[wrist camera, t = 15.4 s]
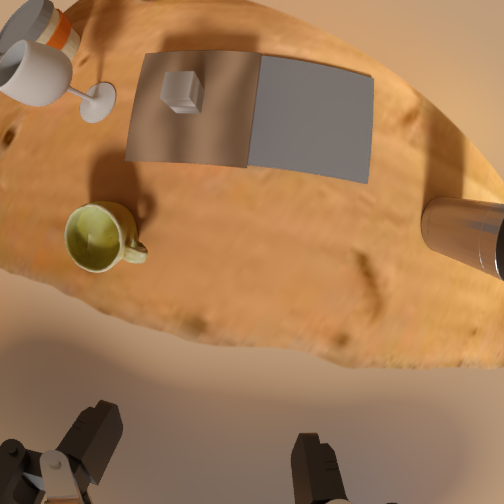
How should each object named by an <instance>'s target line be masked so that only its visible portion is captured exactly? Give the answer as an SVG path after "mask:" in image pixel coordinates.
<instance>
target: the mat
mask: <svg viewBox="0 0 504 504" xmlns="http://www.w3.org/2000/svg"><path fill="white" fill-rule="evenodd" d="M373 100H374V78H371V77H367V76H364V75H361V74H357V73H353V72H350V71H346V70H342V69H338V68H334V67H329V66H325V65H320V64H315V63H310V62H305V61H299V60H293V59H286V58H279V57H271V56H262V58H261V66H260V73H259V80H258V88H257V95H256V102H255V110H254V118H253V125H252V133H251V141H250V149H249V157H248V165H253V166H261V167H269V168H277V169H284V170H291V171H298V172H304V173H310V174H316V175H322V176H328V177H333V178H339V179H344V180H349V181H354V182H359V183H364V184H368V176H369V166H370V155H371V142H372V126H373Z"/></svg>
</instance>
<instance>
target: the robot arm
mask: <svg viewBox="0 0 504 504" xmlns="http://www.w3.org/2000/svg"><path fill="white" fill-rule="evenodd" d="M421 232H422V236H423V239H424V241H425V243H426V245H427V246H428V247H429V248H430V249H431V250H433V251H436V252H438V253H441V254H443V255H446V256H448V257H450V258H453V259H455V260H457V261H460V262H462V263H464V264H467V265H469V266H471V267H474V268H476V269H478V270H481V271H483V272H485V273H487V274H490V275H492V276H494V277H496V278H498V279H501V280H503V281H504V204H499V203H492V202H484V201H476V200H468V199H458V198H449V197H437V198H435V199H433V200H431V202H430V203H429V204H428V205H427V206H426V208H425V210H424V213H423V216H422V220H421ZM122 432H123V424H122V420H121V417H120V413H119V409H118V406H117V405H116V404H113V403H110V402H107V401H104V400H100V401H99V402H98V404H97V405H96V407H95V408H93V407H88V408H87V409H85V410H84V411H82V412H81V413H80V415H79V416H78V418H77V420H76V421H75V422H74V424H73V425H72V427H71V428H70V429H69V431H68V432H67V434H66V435H65V437H64V438H63V440H62V441H61V443H60V445H59V446H58V447H57V449H55V450H49V451H46V452H44V453H39V452H35V451H31V450H27V449H25V448H24V446H23V445H22V443H20V442H19V441H17V440H15V439H8V440H6V441H4V442H3V443H2V444H1V446H0V504H41V501H42V499H43V497H44V495H45V493H46V495H47V501H45V502H44V504H93V501H92V499H91V496H90V493H89V491H88V486H89V483H92V484H95V485H98V484H99V482H100V480H101V478H102V476H103V473H104V471H105V469H106V467H107V465H108V463H109V461H110V459H111V456H112V455H113V452H114V450H115V448H116V446H117V444H118V442H119V440H120V438H121V436H122ZM291 468H292V478H293V487H294V495H295V504H352V503H351V502H350V501H349V500H348V499H347V497H346V495H345V490H344V486H343V482H342V479H341V474H340V471H339V467H338V463H337V459H336V455H335V452H334V450H333V449H332V448H331V447H330V445H329V444H328V443H323V444H320V441H319V436H318V434H317V433H300V434H299V435H298V438H297V440H296V443H295V445H294V448H293V450H292V454H291ZM387 504H397V503H387Z"/></svg>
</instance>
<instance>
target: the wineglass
mask: <svg viewBox="0 0 504 504" xmlns="http://www.w3.org/2000/svg"><path fill="white" fill-rule="evenodd" d="M72 72H73V71H72V64H71V61H70V59H69V58H68V57H67V55H65V54H64V53H63V52H62V51H60V50H58V49H56V48H54V47H51V46H48V45H45V44H42V43H39V42H35V41H30V40H24V39H23V40H19V41H17V42H16V43H15V44H13V45H12V46H11V47H10V48H9V49H8V51H7V52H6V53H5V55H4V56H3V58H2V59H1V61H0V91H1V92H3V93H4V94H6V95H8V96H9V97H11V98H13V99H15V100H17V101H19V102H21V103H24V104H26V105H30V106H37V107H41V106H45V105H49V104H51V103H53V102H55V101H56V100H58V99H59V98H60V97H61V96H62V95H63V94H64V93H65V92H66V91H67V92H71V93H73V94H75V95H77V96H80V97H82V98H83V99H82V102H81V105H80V114H81V117H82V118H83V120H85V121H86V122H88V123H96V122H99V121H101V120H103V119H104V118H105V117H106V116H107V115H108V114H109V113H110V112H111V110H112V108H113V107H114V104H115V101H116V91H115V89H114V87H113V86H112V85H111V84H109V83H104V82H103V83H99V84H96V85H94V86H93V87H91V88H90V89H89V90H88V91H87V93H86V94H85V93H83V92H80V91H78V90H76V89H74V88H72V87H71V86H70V83H71V80H72Z"/></svg>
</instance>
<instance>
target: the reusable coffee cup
mask: <svg viewBox="0 0 504 504" xmlns="http://www.w3.org/2000/svg"><path fill="white" fill-rule="evenodd" d="M23 39H24V40H30V41H35V42H39V43H42V44H45V45H48V46H51V47H54V48H56V49H58V50H60V51H62V52H63V53H64V54H65V55H67V57H68V58H69V59H70V61H71V60H72V58H73V57H74V56H75V54H76V52H77V50H78V48H79V45H80V37H79V35H78V34H77V33H76V32H75V31H74V29H73V28H72V27H71V23H70V21H69V20H68V19H67V18H66V17H65V15H64V14H63V13H62V12H61V11H60V10H59V9H55V8H54V5H53V3H52V2H51V1H49V0H29V1H27V2H26V3H25V4H23V5H22V6H21V7H20V8H19V9H18V10H17V11H16V12H15V13H14V14H13V15H12V16H11V18H10V19H9V20H8V22H7V23H6V24H5V26H4V27H3V29H2V31H1V32H0V61H1V59H2V58H3V56H4V55H5V53H6V52H7V51H8V49H9V48H10V47H11V46H12V45H13V44H15V43H16V42H17V41H19V40H23Z"/></svg>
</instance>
